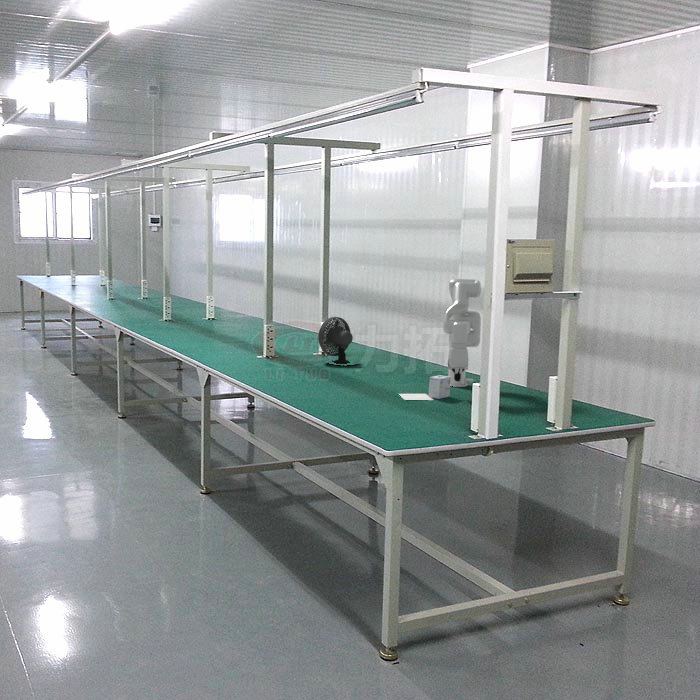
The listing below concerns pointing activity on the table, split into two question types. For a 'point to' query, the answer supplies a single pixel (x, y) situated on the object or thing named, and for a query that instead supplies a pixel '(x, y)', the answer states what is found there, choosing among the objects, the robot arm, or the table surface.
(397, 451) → the table surface
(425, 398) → the mat
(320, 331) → the fan
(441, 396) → the light bulb box
